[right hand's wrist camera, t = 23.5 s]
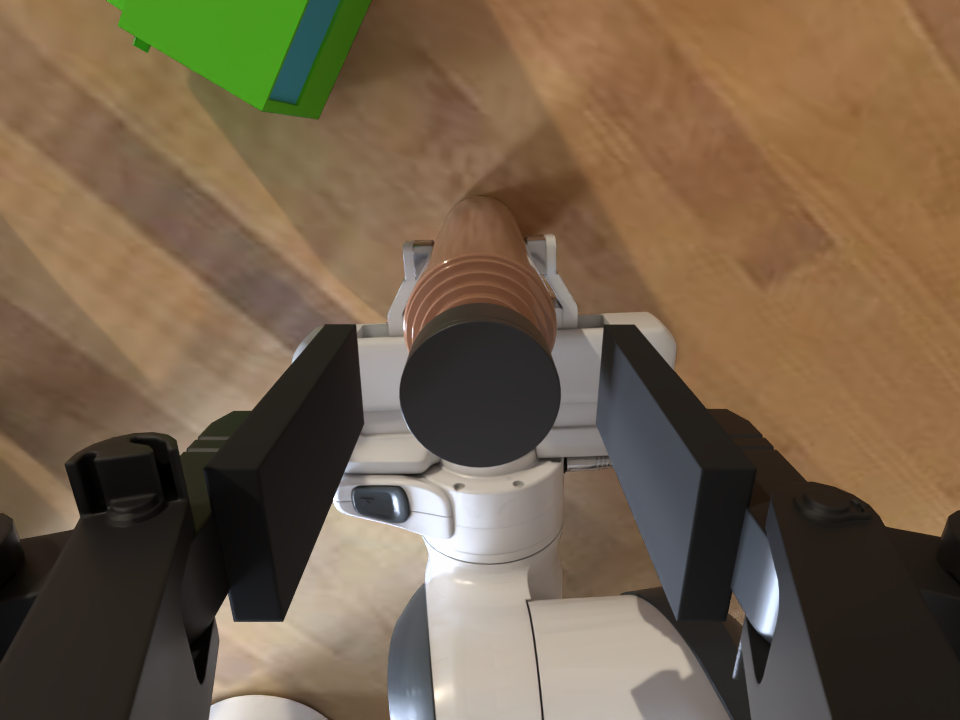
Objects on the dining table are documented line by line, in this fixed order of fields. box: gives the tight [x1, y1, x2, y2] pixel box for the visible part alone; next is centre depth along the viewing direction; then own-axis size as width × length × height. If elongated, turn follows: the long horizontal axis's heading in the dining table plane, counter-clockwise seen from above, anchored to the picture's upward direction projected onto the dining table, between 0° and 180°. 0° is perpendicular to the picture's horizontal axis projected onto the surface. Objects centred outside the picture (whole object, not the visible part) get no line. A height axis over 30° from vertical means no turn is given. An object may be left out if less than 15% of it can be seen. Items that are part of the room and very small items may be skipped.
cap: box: [399, 303, 561, 468], centre depth 14 cm, size 4×4×2 cm
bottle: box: [403, 196, 557, 353], centre depth 25 cm, size 5×5×23 cm
